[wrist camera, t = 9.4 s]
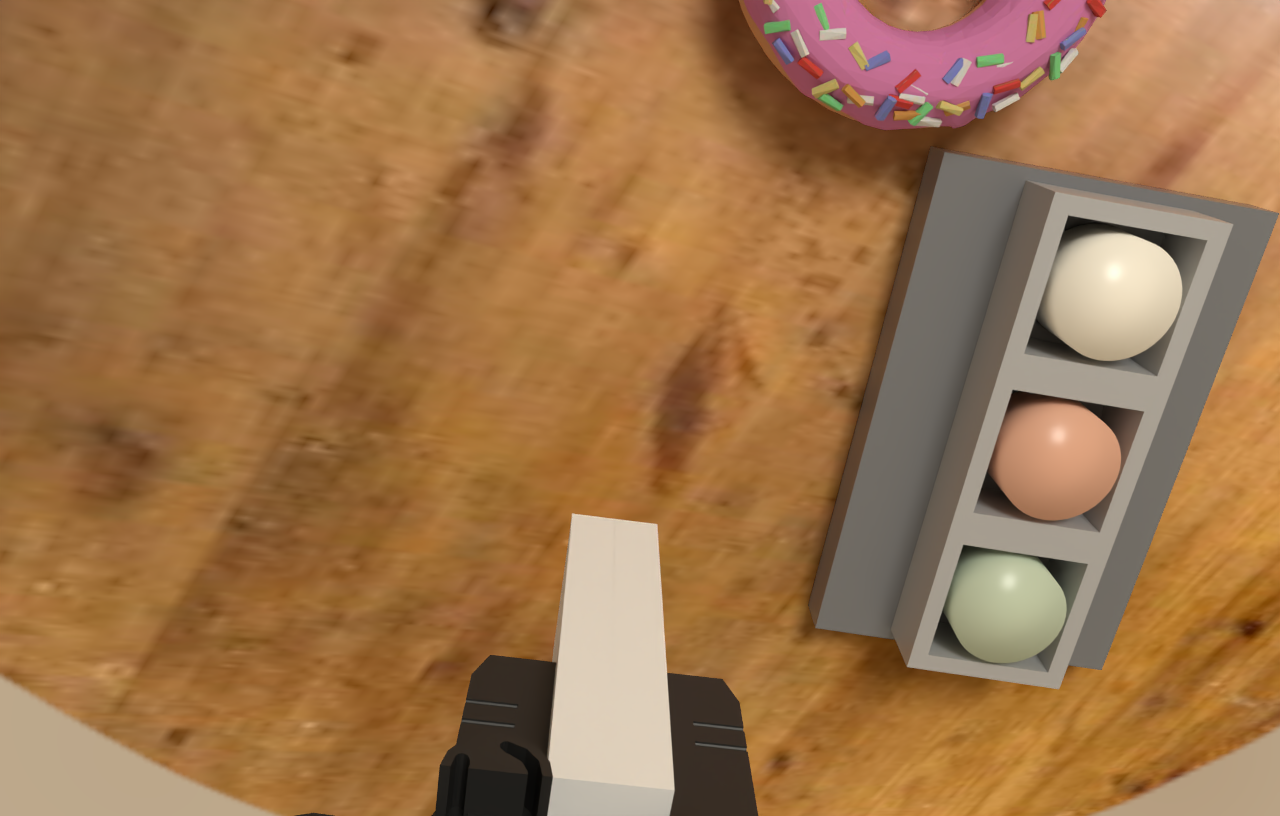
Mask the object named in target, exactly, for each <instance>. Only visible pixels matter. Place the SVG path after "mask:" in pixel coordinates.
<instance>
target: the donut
mask: <svg viewBox="0 0 1280 816" xmlns="http://www.w3.org/2000/svg"><path fill="white" fill-rule="evenodd" d="M1105 1H1106V0H982V1H981V2H980V3H979V4H978V5H977V6H976V7H975V8H974V9H973V10H971V11H970V12H969V13H968V14H966V15H965V16H964V17H963V18H961V19H959V20H957V21H956V22H954V23H952V24H950V25H947V26H944V27H941V28H938V29H935V30H932V31H921V32H913V31H905V30H901V29H898V28H895V27H892V26H889V25H887V24H885V23H884V22H882V21H881V20H879V19H877V18H876V17H874V16H873V15H871V14H870V13H869V12H868V11H867V10H866V9H865V8H864V7H863V5H862V4H861V3H860V2H859V1H858V0H739V3H740V6H741V9H742V12H743V14H744V16H745V19H746V21H747V23H748V25H749V27H750V29H751V31H752V32H753V34H754V36H755V37H756V39H757V41H758V42H759V44H760V46H761V47H762V49H763V51H764V52H765V54H766V55H767V57H768V58H769V59H770V60H771V61H772V63H773V64H774V65H775V66H776V68H777V69H778V70H779V71H780V72H781V73H782V74H783V75H784V76H785V77H786V78H787V79H788V80H789V81H790V82H791V83H792V84H793V85H794V86H795V87H796V88H797V89H798V90H799V91H800V92H801V93H803V94H804V95H805V96H807V97H809V98H812V99H813V100H815V101H816V102H818V103H819V104H821V105H822V106H824V107H825V108H827V109H828V110H831V111H833V112H835V113H838V114H840V115H842V116H845V117H847V118H850V119H852V120H855V121H859V122H861V123H862V124H864V125H867V126H871V127H875V128H879V129H882V130H895V129H915V128H929V127H940V126H951V127H952V128H957V127H961V126H965V125H966V124H968V123H969V122H971V121H972V120H973V119H975V118H980V119H984V116H985V114H986V113H987V112H990V111H994V112H997V111H999V110H1001V109H1002V108H1004V107H1006V106H1008V105H1010V104H1012V103H1013V102H1015V101H1017V100H1019V99H1020V97H1021V96H1023V95H1024V94H1025V93H1026V92H1028V91H1029V90H1030V89H1031V88H1033V87H1034V86H1035V85H1036V84H1038V83H1039V82H1040V81H1041V80H1043V79H1044V78H1045V77H1046V76H1048V75H1049V79H1050V80H1055V79H1058V78H1060V73H1062V72H1063V71H1064V70H1065V69H1066V68H1067V67H1068V65H1069V64H1070V63H1071V62H1072V61H1073V59H1074V58H1075V57H1076V56H1077V55H1078V51H1077V49H1075V48H1076V47H1077V46H1078V44H1079V43H1080V42H1081V41H1082V39H1083V38H1084V36H1085V35H1086V33H1087V32H1088V30H1089V29H1090V27H1091V26H1092V24H1093V23H1094V21H1095V20H1096V18H1097V17H1102V15H1103V14H1104V13H1105V12H1106V11H1107V10H1106V9H1105V7H1104V4H1105Z"/></svg>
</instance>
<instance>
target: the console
mask: <svg viewBox="0 0 1280 816" xmlns="http://www.w3.org/2000/svg"><path fill="white" fill-rule="evenodd" d="M1278 215H1279V213H1276V212H1273V211H1269V210H1266V209H1263V208H1259V207H1256V206H1252V205H1248V204H1242V203H1237V202H1231V201H1226V200H1220V199H1215V198H1209V197H1204V196H1199V195H1193V194H1188V193H1182V192H1177V191H1171V190H1166V189H1160V188H1155V187H1149V186H1144V185H1139V184H1133V183H1128V182H1122V181H1117V180H1111V179H1106V178H1100V177H1095V176H1089V175H1084V174H1079V173H1073V172H1068V171H1062V170H1057V169H1051V168H1046V167H1040V166H1035V165H1030V164H1024V163H1019V162H1013V161H1008V160H1002V159H997V158H991V157H986V156H980V155H975V154H970V153H964V152H959V151H953V150H948V149H942V148H937V147H930V151H929V155H928V159H927V162H926V166H925V170H924V174H923V177H922V181H921V185H920V189H919V192H918V196H917V200H916V204H915V207H914V211H913V215H912V219H911V222H910V226H909V230H908V234H907V237H906V241H905V245H904V248H903V252H902V256H901V260H900V263H899V267H898V271H897V275H896V278H895V282H894V286H893V290H892V293H891V297H890V301H889V305H888V308H887V312H886V316H885V320H884V323H883V327H882V331H881V335H880V338H879V342H878V346H877V350H876V353H875V357H874V361H873V365H872V368H871V372H870V376H869V380H868V383H867V387H866V391H865V395H864V398H863V402H862V406H861V410H860V413H859V417H858V421H857V425H856V428H855V432H854V436H853V440H852V443H851V447H850V451H849V454H848V458H847V462H846V466H845V469H844V473H843V477H842V481H841V484H840V488H839V492H838V496H837V499H836V503H835V507H834V511H833V514H832V518H831V522H830V526H829V529H828V533H827V537H826V541H825V544H824V548H823V552H822V556H821V559H820V563H819V567H818V571H817V574H816V578H815V582H814V586H813V589H812V593H811V597H810V601H809V604H808V606H809V609H810V613H811V616H812V619H813V622H814V625H815V628H819V629H826V630H833V631H840V632H846V633H853V634H860V635H867V636H874V637H880V638H887V639H894V640H895V641H896V643H897V645H898V647H899V650H900V652H901V654H902V657H903V659H904V661H905V664H906V666H907V667H911V668H917V669H924V670H931V671H938V672H945V673H952V674H959V675H966V676H972V677H979V678H986V679H993V680H1000V681H1007V682H1014V683H1020V684H1027V685H1034V686H1041V687H1048V688H1055V689H1059V688H1060V685H1061V683H1062V680H1063V677H1064V675H1065V672H1066V669H1067V667H1068V665H1070V666H1077V667H1084V668H1091V669H1098V670H1102V667H1103V665H1104V662H1105V660H1106V657H1107V655H1108V652H1109V649H1110V647H1111V644H1112V642H1113V639H1114V637H1115V634H1116V631H1117V629H1118V626H1119V624H1120V621H1121V619H1122V616H1123V613H1124V611H1125V608H1126V606H1127V603H1128V601H1129V598H1130V595H1131V593H1132V590H1133V588H1134V585H1135V583H1136V580H1137V577H1138V575H1139V572H1140V570H1141V567H1142V565H1143V562H1144V559H1145V557H1146V554H1147V552H1148V549H1149V547H1150V544H1151V541H1152V539H1153V536H1154V534H1155V531H1156V529H1157V526H1158V523H1159V521H1160V518H1161V516H1162V513H1163V511H1164V508H1165V505H1166V503H1167V500H1168V498H1169V495H1170V493H1171V490H1172V487H1173V485H1174V482H1175V480H1176V477H1177V475H1178V472H1179V469H1180V467H1181V464H1182V462H1183V459H1184V457H1185V454H1186V451H1187V449H1188V446H1189V444H1190V441H1191V439H1192V436H1193V433H1194V431H1195V428H1196V426H1197V423H1198V421H1199V418H1200V415H1201V413H1202V410H1203V408H1204V405H1205V403H1206V400H1207V397H1208V395H1209V392H1210V390H1211V387H1212V385H1213V382H1214V379H1215V377H1216V374H1217V372H1218V369H1219V367H1220V364H1221V362H1222V359H1223V356H1224V354H1225V351H1226V349H1227V346H1228V344H1229V341H1230V338H1231V336H1232V333H1233V331H1234V328H1235V326H1236V323H1237V320H1238V318H1239V315H1240V313H1241V310H1242V308H1243V305H1244V302H1245V300H1246V297H1247V295H1248V292H1249V290H1250V287H1251V284H1252V282H1253V279H1254V277H1255V274H1256V272H1257V269H1258V266H1259V264H1260V261H1261V259H1262V256H1263V254H1264V251H1265V248H1266V246H1267V243H1268V241H1269V238H1270V236H1271V233H1272V230H1273V228H1274V225H1275V223H1276V220H1277V218H1278ZM1085 224H1105V225H1109V226H1113V227H1115V228H1118V229H1120V230H1123V231H1125V232H1127V233H1130V234H1132V235H1134V236H1137V237H1139V238H1142V239H1144V240H1146V241H1149V242H1151V243H1153V244H1156V245H1157V246H1159V247H1161V248H1162V249H1163V250H1164V251H1166V252H1167V253H1168V254H1169V255H1170V256H1171V258H1172V259H1173V260H1174V262H1175V264H1176V265H1177V268H1178V270H1179V272H1180V276H1181V280H1182V299H1181V304H1180V307H1179V311H1178V313H1177V315H1176V318H1175V320H1174V322H1173V323H1172V325H1171V327H1170V328H1169V329H1168V331H1167V332H1166V333H1165V334H1164V335H1163V336H1162V338H1161V339H1160V340H1158V341H1157V342H1156V343H1155V344H1154V345H1153V346H1151V347H1150V348H1148V349H1147V350H1145V351H1143V352H1141V353H1139V354H1137V355H1135V356H1132V357H1130V358H1126V359H1122V360H1115V361H1103V360H1096V359H1092V358H1089V357H1086V356H1084V355H1082V354H1080V353H1078V352H1077V351H1075V350H1074V349H1073V348H1071V347H1070V346H1069V345H1067V344H1066V343H1064V342H1063V341H1062V340H1060V339H1059V338H1058V337H1056V336H1055V335H1054V334H1052V333H1051V332H1049V331H1048V330H1047V329H1046V328H1044V327H1043V326H1042V325H1041V324H1040V323H1039V322H1038V321H1037V319H1036V315H1037V312H1038V309H1039V306H1040V302H1041V299H1042V296H1043V293H1044V290H1045V287H1046V284H1047V281H1048V277H1049V274H1050V271H1051V268H1052V265H1053V262H1054V259H1055V255H1056V252H1057V249H1058V246H1059V243H1060V240H1061V237H1062V233H1063V232H1064V231H1066V230H1069V229H1071V228H1073V227H1077V226H1080V225H1085ZM1017 391H1024V392H1030V393H1036V394H1042V395H1048V396H1054V397H1060V398H1066V399H1072V400H1078V401H1079V402H1080V403H1081V404H1083V405H1084V406H1085V407H1086V408H1087V409H1089V410H1090V411H1091V412H1092V413H1093V414H1094V415H1096V416H1097V417H1098V418H1099V419H1100V420H1102V421H1103V422H1104V423H1105V424H1106V425H1107V426H1108V427H1109V428H1110V429H1111V430H1112V431H1113V433H1114V434H1115V436H1116V438H1117V440H1118V443H1119V446H1120V451H1121V465H1120V470H1119V474H1118V477H1117V479H1116V481H1115V483H1114V485H1113V487H1112V488H1111V490H1110V491H1109V493H1108V494H1107V495H1106V496H1105V497H1104V498H1103V499H1102V500H1101V501H1100V502H1099V503H1098V504H1097V505H1096V506H1094V507H1093V508H1091V509H1090V510H1088V511H1086V512H1084V513H1082V514H1080V515H1078V516H1075V517H1072V518H1068V519H1063V520H1042V519H1038V518H1034V517H1031V516H1029V515H1027V514H1025V513H1023V512H1022V511H1020V510H1019V509H1018V508H1017V507H1016V506H1015V505H1014V504H1013V503H1012V502H1011V501H1010V500H1009V498H1008V497H1007V496H1006V495H1005V493H1004V492H1003V491H1002V490H1001V488H1000V487H999V486H998V485H997V484H996V482H995V481H994V480H993V479H992V477H991V476H990V475H989V474H988V472H987V469H988V465H989V462H990V459H991V456H992V453H993V450H994V447H995V444H996V440H997V437H998V434H999V431H1000V428H1001V425H1002V422H1003V418H1004V415H1005V412H1006V409H1007V406H1008V403H1009V400H1010V397H1011V394H1013V393H1015V392H1017ZM963 545H969V546H975V547H982V548H988V549H995V550H1001V551H1008V552H1014V553H1020V554H1027V555H1033V556H1037V557H1038V558H1039V559H1040V561H1041V562H1042V563H1043V565H1044V566H1045V567H1046V569H1047V570H1048V571H1049V572H1050V574H1051V575H1052V576H1053V578H1054V579H1055V580H1056V582H1057V583H1058V584H1059V586H1060V587H1061V589H1062V591H1063V593H1064V596H1065V599H1066V607H1067V611H1066V618H1065V621H1064V624H1063V626H1062V629H1061V631H1060V632H1059V634H1058V635H1057V637H1056V638H1055V639H1054V641H1053V642H1052V643H1051V644H1050V645H1049V646H1047V647H1046V648H1045V649H1044V650H1042V651H1041V652H1039V653H1038V654H1036V655H1034V656H1032V657H1030V658H1027V659H1025V660H1022V661H1018V662H1012V663H993V662H988V661H985V660H982V659H980V658H978V657H976V656H974V655H972V654H971V653H969V652H968V651H967V650H966V649H965V648H964V647H963V646H962V644H961V643H960V641H959V640H958V638H957V636H956V634H955V632H954V630H953V628H952V627H951V625H950V623H949V621H948V619H947V617H946V615H945V614H944V612H943V607H944V603H945V600H946V597H947V594H948V591H949V588H950V585H951V581H952V578H953V575H954V572H955V569H956V566H957V563H958V560H959V556H960V553H961V550H962V547H963Z"/></svg>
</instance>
